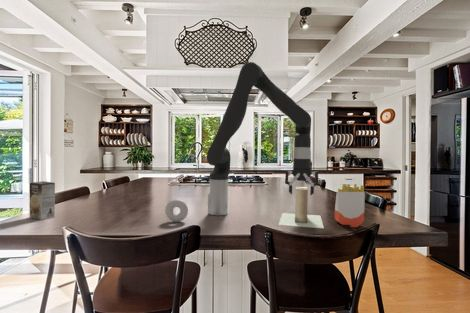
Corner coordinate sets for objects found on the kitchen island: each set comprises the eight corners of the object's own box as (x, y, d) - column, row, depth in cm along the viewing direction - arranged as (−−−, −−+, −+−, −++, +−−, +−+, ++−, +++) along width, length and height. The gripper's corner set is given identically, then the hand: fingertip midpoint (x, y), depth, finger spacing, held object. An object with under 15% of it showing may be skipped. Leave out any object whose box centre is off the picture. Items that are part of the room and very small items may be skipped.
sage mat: (278, 227, 114) (278, 224, 114) (282, 215, 135) (282, 213, 135) (323, 230, 109) (323, 228, 109) (320, 217, 131) (320, 215, 131)
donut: (164, 222, 119) (164, 199, 118) (166, 220, 122) (166, 198, 122) (187, 223, 118) (187, 200, 118) (188, 221, 122) (188, 198, 122)
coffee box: (28, 217, 124) (28, 182, 124) (43, 214, 130) (43, 181, 130) (41, 220, 121) (40, 183, 120) (55, 217, 126) (55, 182, 126)
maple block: (295, 216, 127) (294, 222, 118) (295, 186, 127) (295, 189, 117) (306, 217, 126) (307, 223, 117) (307, 187, 126) (307, 190, 116)
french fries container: (334, 224, 120) (335, 182, 119) (358, 224, 120) (359, 183, 119) (338, 226, 115) (339, 184, 114) (364, 227, 115) (364, 184, 115)
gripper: (285, 157, 118) (284, 194, 119) (319, 158, 115) (318, 196, 116) (286, 157, 126) (285, 192, 126) (318, 157, 122) (317, 194, 123)
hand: (301, 194), depth 121 cm, fingers open, 8 cm apart
